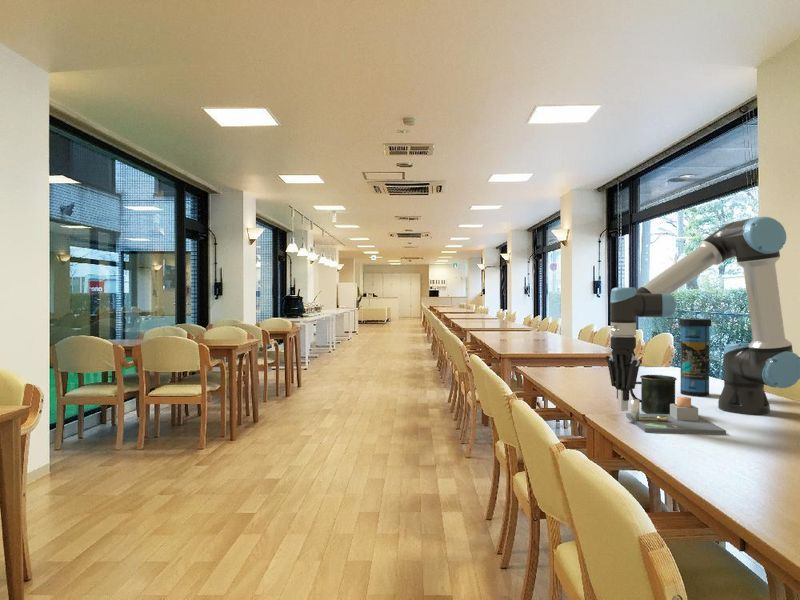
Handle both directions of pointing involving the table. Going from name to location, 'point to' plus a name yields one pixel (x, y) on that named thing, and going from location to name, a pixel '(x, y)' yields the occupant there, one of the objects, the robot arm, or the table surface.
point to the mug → (656, 393)
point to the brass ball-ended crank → (636, 412)
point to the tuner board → (678, 422)
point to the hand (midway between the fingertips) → (622, 410)
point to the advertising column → (695, 356)
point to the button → (684, 402)
